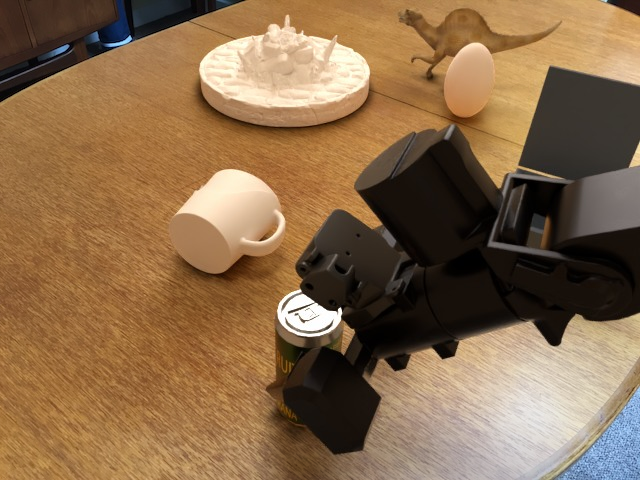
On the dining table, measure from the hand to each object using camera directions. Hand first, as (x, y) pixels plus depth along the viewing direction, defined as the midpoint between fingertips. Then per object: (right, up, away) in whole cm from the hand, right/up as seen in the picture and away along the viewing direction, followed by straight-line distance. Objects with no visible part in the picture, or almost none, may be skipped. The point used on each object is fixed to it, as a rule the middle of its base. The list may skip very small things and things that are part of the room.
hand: (294, 349), depth 49 cm
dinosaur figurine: (+27, +35, +54) cm, 70 cm away
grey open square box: (+29, +8, +22) cm, 37 cm away
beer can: (+1, -6, +4) cm, 7 cm away
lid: (+32, +21, +19) cm, 43 cm away
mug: (-8, +8, +20) cm, 22 cm away
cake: (-4, +35, +52) cm, 62 cm away
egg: (+25, +29, +46) cm, 60 cm away
